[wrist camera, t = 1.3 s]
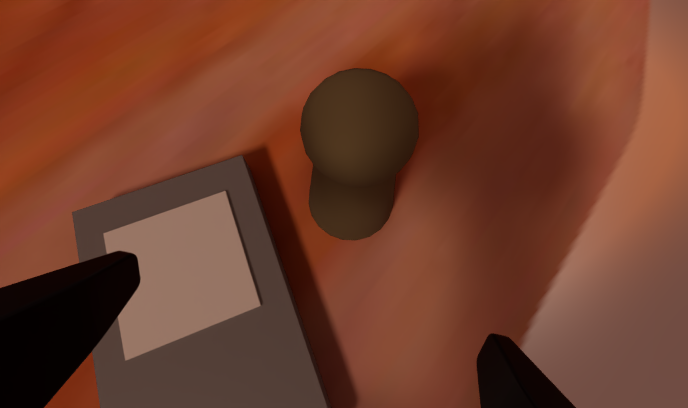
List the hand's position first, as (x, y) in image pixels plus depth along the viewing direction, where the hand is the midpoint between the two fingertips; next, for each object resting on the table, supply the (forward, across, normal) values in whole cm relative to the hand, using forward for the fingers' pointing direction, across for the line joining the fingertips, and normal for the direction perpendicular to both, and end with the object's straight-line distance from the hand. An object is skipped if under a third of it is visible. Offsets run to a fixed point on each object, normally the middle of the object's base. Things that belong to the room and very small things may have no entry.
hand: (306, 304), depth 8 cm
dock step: (+8, +7, +11) cm, 15 cm away
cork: (+15, 0, +4) cm, 16 cm away
